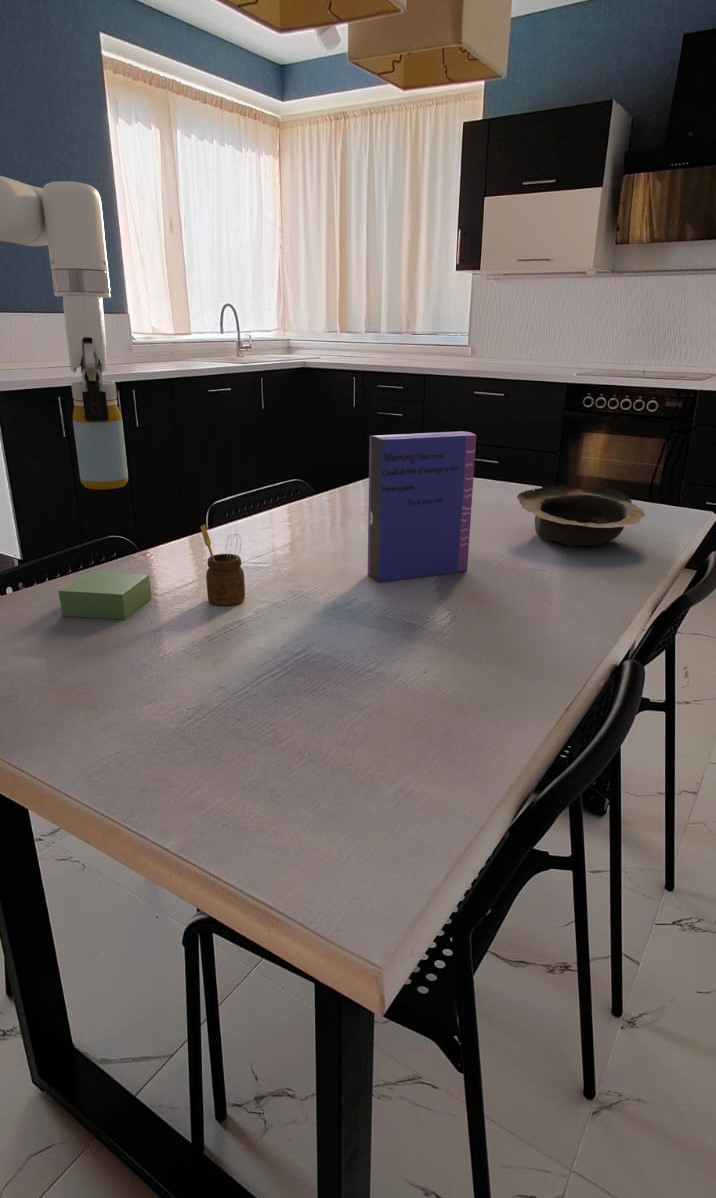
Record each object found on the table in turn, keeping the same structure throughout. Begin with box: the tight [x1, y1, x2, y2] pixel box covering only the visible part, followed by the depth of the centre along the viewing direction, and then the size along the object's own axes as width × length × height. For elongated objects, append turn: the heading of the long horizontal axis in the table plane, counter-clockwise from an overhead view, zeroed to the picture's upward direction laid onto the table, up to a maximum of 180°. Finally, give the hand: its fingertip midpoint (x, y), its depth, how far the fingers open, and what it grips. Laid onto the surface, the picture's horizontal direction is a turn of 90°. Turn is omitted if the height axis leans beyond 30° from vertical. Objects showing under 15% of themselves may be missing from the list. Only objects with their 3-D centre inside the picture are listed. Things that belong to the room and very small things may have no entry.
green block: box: [58, 570, 152, 621], centre depth 118 cm, size 10×10×4 cm
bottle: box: [71, 380, 129, 490], centre depth 116 cm, size 7×7×15 cm
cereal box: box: [367, 430, 477, 584], centre depth 132 cm, size 17×5×24 cm, turn 113°
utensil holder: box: [199, 524, 246, 607], centre depth 120 cm, size 6×6×12 cm
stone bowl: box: [516, 483, 646, 548], centre depth 158 cm, size 25×25×9 cm
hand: (97, 416), depth 115 cm, fingers closed on bottle, 7 cm apart
